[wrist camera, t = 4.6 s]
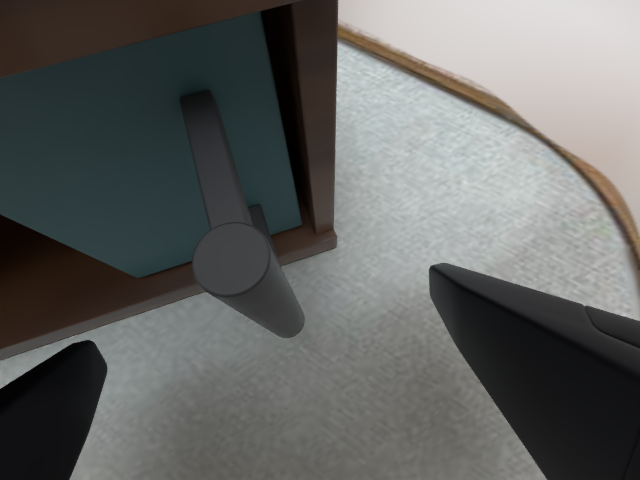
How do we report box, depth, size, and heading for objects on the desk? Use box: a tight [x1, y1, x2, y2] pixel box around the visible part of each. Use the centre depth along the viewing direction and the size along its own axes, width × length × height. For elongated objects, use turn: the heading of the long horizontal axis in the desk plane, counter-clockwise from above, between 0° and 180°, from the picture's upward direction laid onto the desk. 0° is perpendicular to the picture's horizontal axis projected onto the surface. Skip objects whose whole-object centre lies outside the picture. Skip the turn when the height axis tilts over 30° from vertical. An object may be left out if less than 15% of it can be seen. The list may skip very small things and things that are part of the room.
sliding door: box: [0, 11, 305, 338], centre depth 11 cm, size 6×9×11 cm
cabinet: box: [0, 0, 338, 360], centre depth 12 cm, size 11×20×15 cm, turn 109°
